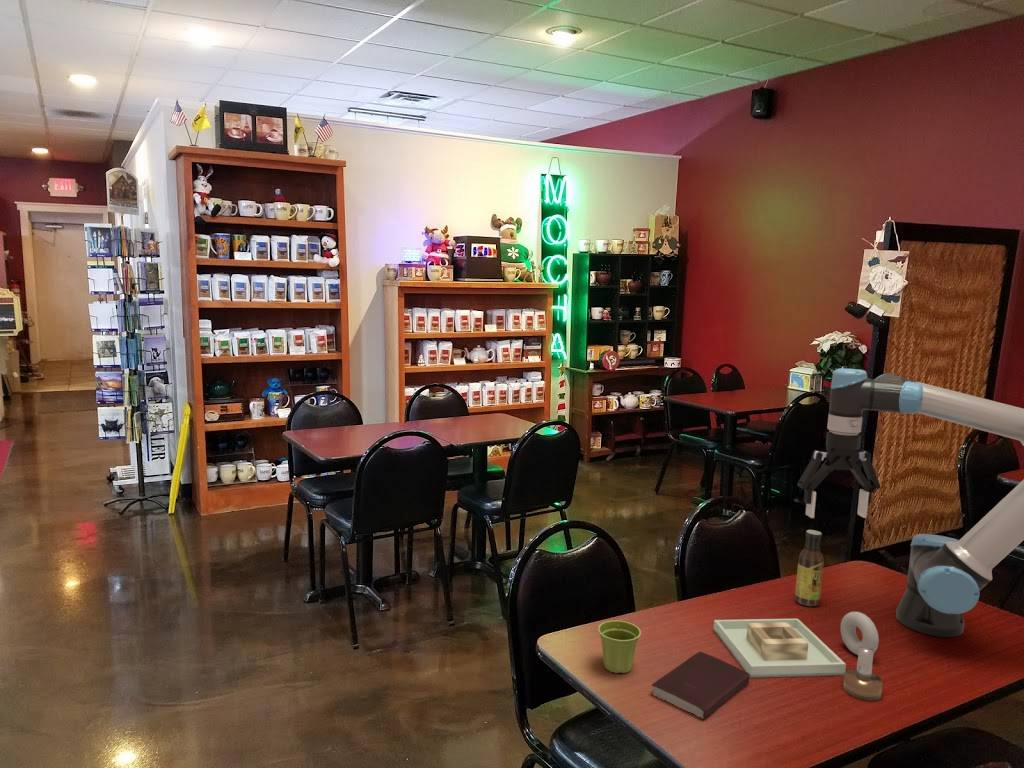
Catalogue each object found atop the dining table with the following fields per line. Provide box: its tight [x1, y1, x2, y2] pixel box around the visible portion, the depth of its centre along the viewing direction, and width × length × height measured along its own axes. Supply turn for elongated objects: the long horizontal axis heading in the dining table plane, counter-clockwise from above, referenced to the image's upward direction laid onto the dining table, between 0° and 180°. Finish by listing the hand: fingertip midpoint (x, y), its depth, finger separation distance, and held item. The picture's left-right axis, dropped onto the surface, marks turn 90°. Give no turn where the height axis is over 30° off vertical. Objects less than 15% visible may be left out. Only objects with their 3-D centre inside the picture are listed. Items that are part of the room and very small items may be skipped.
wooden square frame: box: [746, 622, 808, 661], centre depth 166 cm, size 10×10×4 cm
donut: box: [840, 611, 880, 656], centre depth 166 cm, size 10×4×10 cm, turn 19°
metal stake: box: [842, 646, 883, 702], centre depth 150 cm, size 7×7×10 cm
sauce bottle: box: [794, 529, 825, 607], centre depth 192 cm, size 6×6×20 cm
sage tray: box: [713, 618, 847, 678], centre depth 166 cm, size 22×22×3 cm
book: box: [651, 651, 751, 720], centre depth 150 cm, size 12×19×3 cm, turn 135°
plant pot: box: [597, 619, 642, 674], centre depth 157 cm, size 9×9×9 cm
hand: (835, 516), depth 176 cm, fingers open, 13 cm apart
